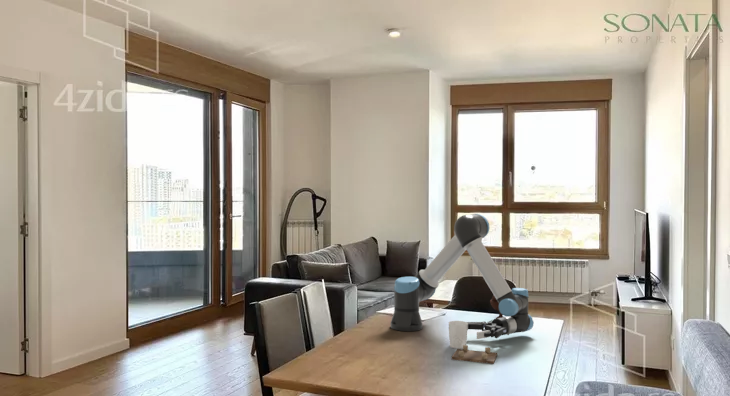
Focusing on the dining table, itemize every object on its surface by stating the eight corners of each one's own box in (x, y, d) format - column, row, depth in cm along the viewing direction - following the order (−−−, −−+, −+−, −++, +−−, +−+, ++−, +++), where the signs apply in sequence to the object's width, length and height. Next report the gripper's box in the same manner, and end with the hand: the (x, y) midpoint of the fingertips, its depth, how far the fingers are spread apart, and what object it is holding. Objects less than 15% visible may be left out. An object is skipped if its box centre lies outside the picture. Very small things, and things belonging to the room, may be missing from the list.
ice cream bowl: (514, 321, 287) (514, 291, 286) (491, 321, 287) (492, 291, 287) (509, 317, 297) (509, 288, 297) (487, 316, 298) (488, 287, 297)
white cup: (467, 349, 237) (467, 325, 236) (447, 348, 238) (448, 324, 238) (467, 344, 244) (468, 321, 244) (449, 343, 246) (449, 320, 246)
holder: (451, 359, 223) (451, 351, 223) (457, 351, 234) (457, 343, 234) (493, 363, 218) (493, 356, 218) (497, 355, 229) (497, 347, 229)
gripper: (524, 341, 243) (486, 348, 232) (483, 328, 264) (447, 334, 253) (524, 323, 243) (487, 329, 232) (484, 312, 264) (447, 317, 253)
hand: (466, 332), depth 242 cm, fingers open, 13 cm apart
